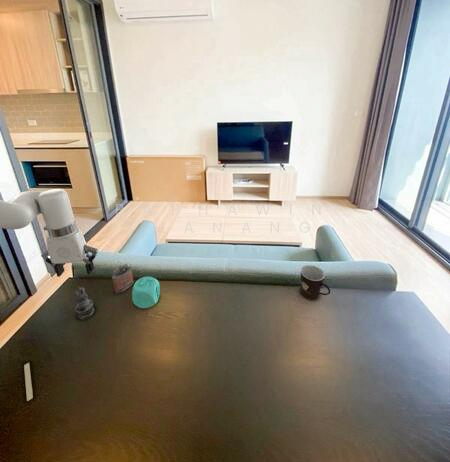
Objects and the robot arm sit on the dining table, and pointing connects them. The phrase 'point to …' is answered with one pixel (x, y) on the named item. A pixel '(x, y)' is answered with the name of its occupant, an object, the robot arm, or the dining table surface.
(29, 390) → the beige long thin bar
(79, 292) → the dark grey chess piece
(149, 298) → the decorative dice
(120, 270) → the lighter
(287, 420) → the dining table surface
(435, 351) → the dining table surface
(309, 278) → the coffee mug
